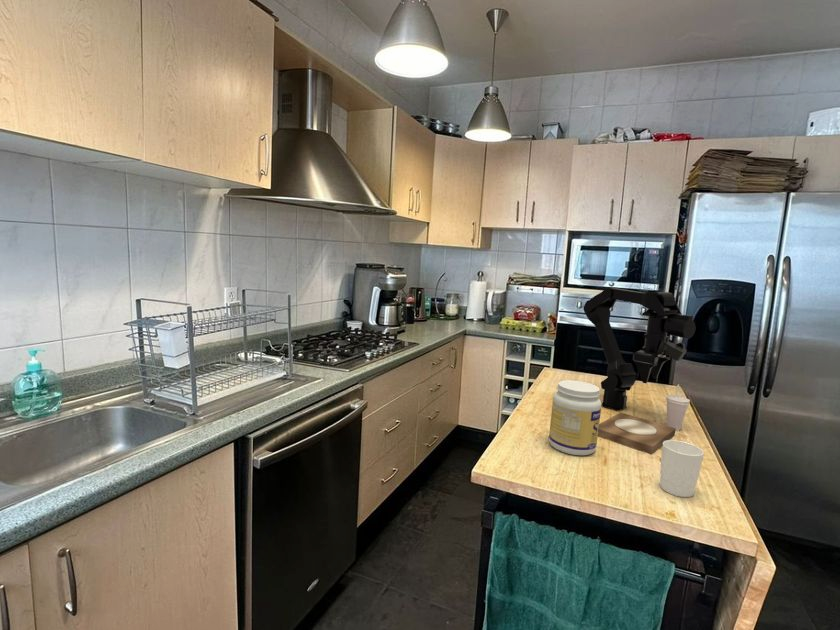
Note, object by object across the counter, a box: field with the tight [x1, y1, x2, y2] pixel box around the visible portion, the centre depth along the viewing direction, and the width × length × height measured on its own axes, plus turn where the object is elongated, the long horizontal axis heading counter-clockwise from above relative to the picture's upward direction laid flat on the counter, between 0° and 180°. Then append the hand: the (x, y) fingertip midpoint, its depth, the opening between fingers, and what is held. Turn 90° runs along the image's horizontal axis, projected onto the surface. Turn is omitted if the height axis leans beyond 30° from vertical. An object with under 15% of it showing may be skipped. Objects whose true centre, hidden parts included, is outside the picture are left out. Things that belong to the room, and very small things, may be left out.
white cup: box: [659, 439, 705, 498], centre depth 101 cm, size 8×8×10 cm
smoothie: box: [665, 383, 690, 432], centre depth 138 cm, size 6×6×14 cm
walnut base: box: [598, 411, 676, 455], centre depth 131 cm, size 16×20×3 cm
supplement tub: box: [548, 379, 603, 456], centre depth 119 cm, size 12×12×17 cm
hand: (649, 380), depth 143 cm, fingers open, 9 cm apart
